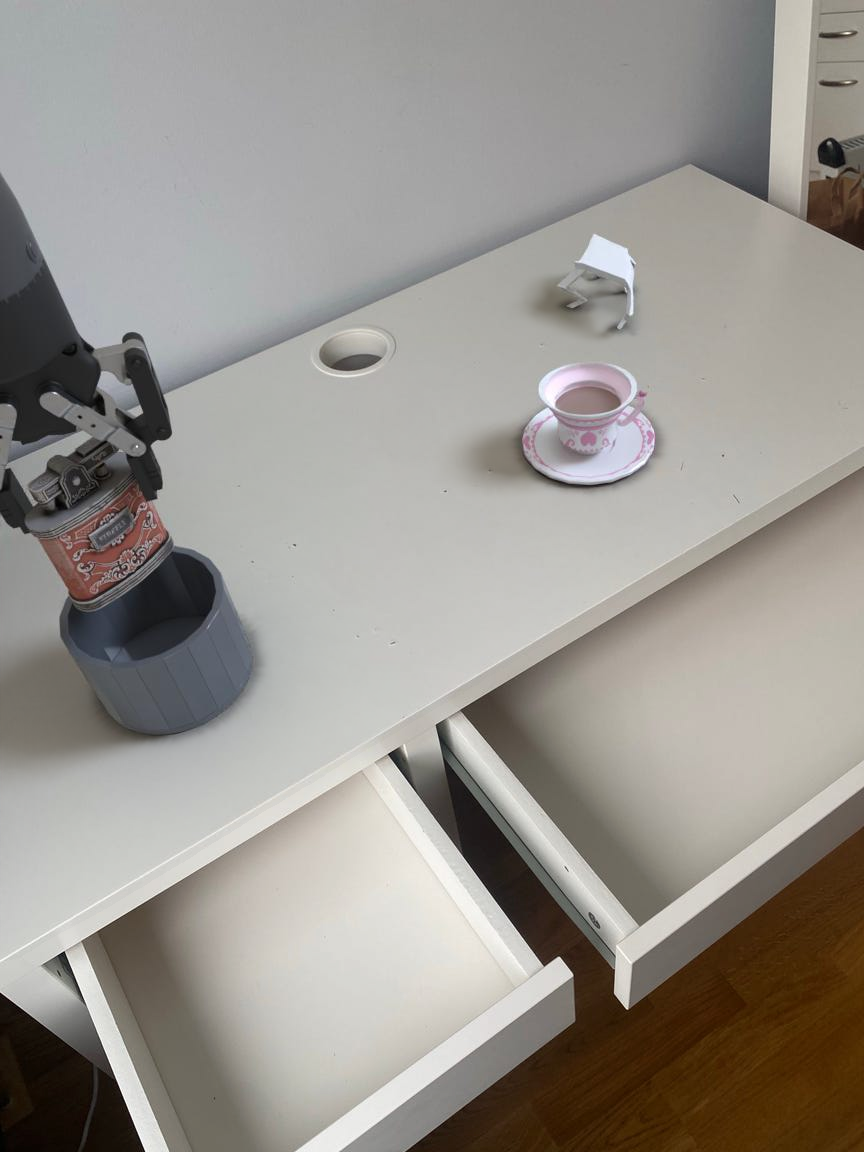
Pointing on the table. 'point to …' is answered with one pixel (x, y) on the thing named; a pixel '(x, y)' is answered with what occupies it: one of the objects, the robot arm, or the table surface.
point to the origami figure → (604, 270)
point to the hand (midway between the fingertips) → (91, 508)
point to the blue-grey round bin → (163, 647)
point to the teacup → (589, 425)
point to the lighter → (96, 524)
